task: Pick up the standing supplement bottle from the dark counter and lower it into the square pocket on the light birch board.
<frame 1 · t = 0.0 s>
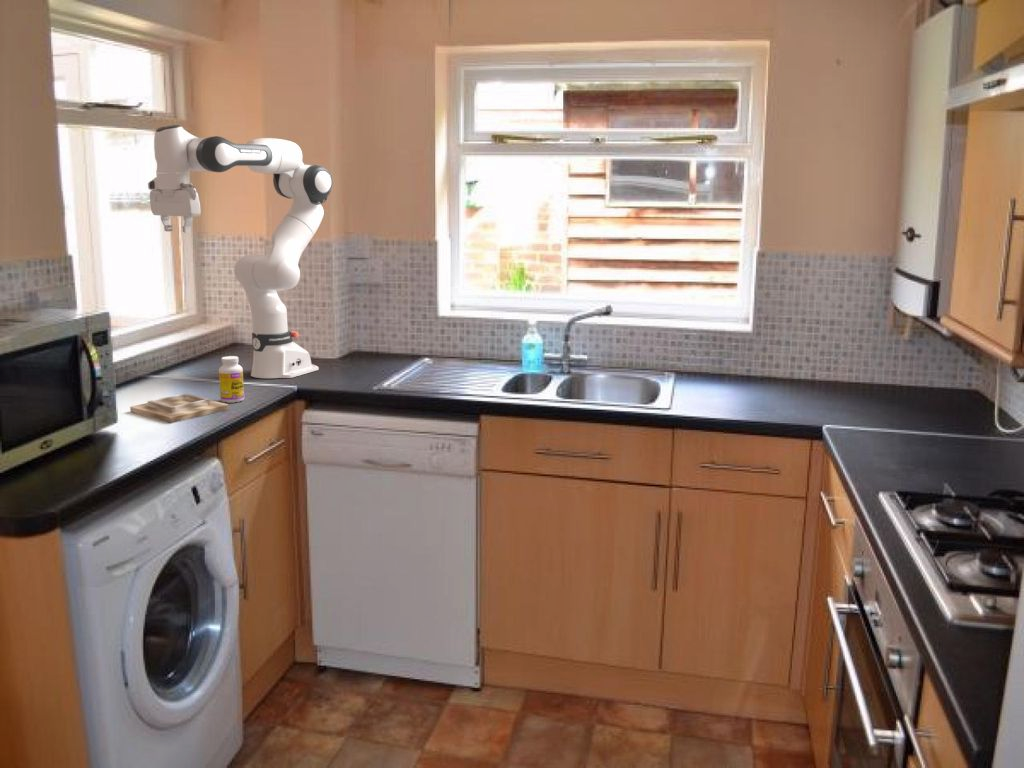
hand: (177, 231, 270), 48 cm above the worktop, tool pointing down, fingers open, 8 cm apart
pocket board: (180, 410, 258), on the worktop
supplement bottle: (232, 401, 269), on the worktop
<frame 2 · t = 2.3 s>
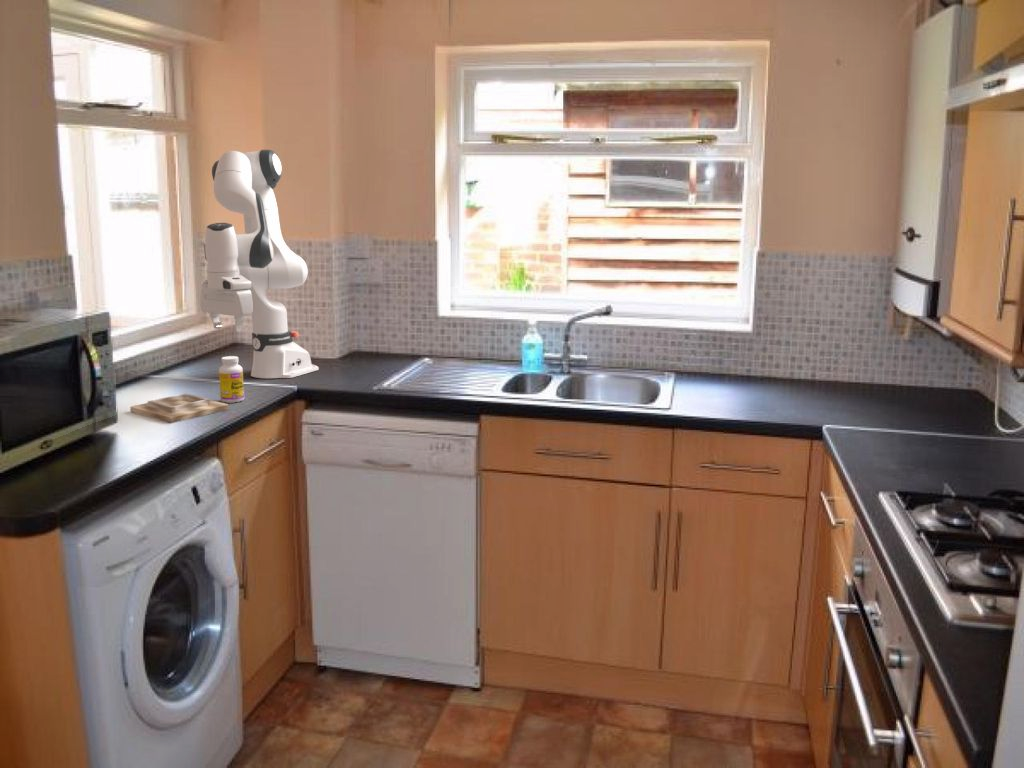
hand: (227, 329, 264), 21 cm above the worktop, tool pointing down, fingers open, 8 cm apart
nothing on the worktop moved.
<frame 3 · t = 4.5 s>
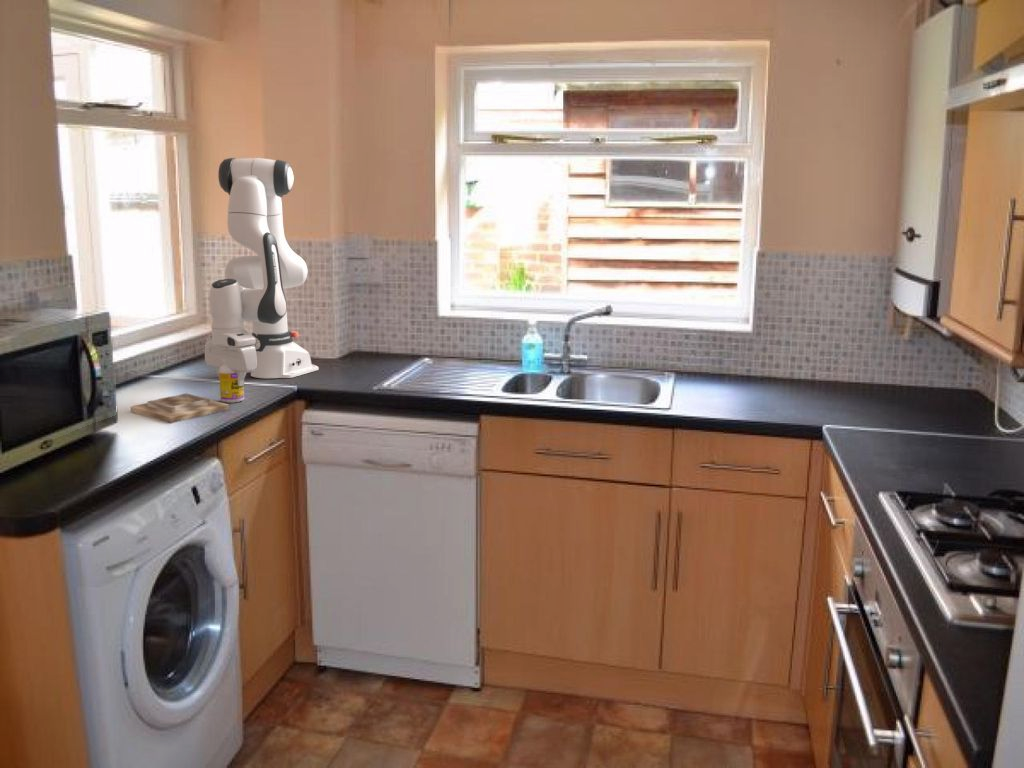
hand: (231, 383, 268), 5 cm above the worktop, tool pointing down, fingers closed on supplement bottle, 7 cm apart
supplement bottle: (233, 401, 269), on the worktop, touching gripper
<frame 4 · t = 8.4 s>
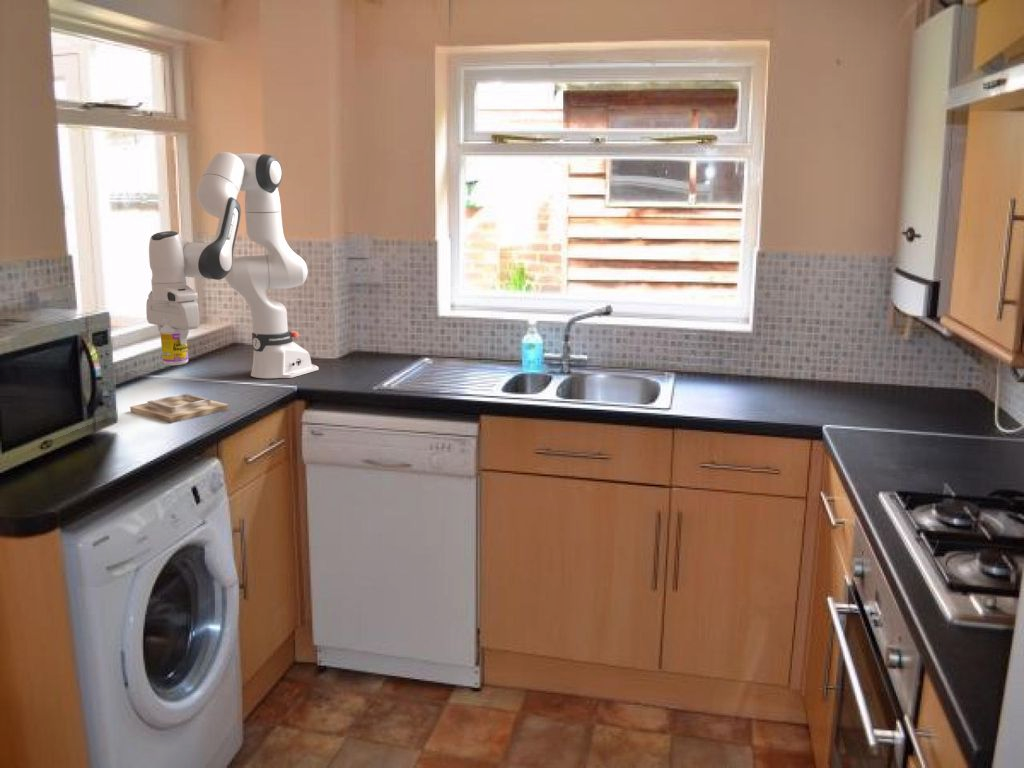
hand: (174, 342, 254), 19 cm above the worktop, tool pointing down, fingers closed on supplement bottle, 7 cm apart
supplement bottle: (176, 363, 255), point 13 cm above the worktop, touching gripper
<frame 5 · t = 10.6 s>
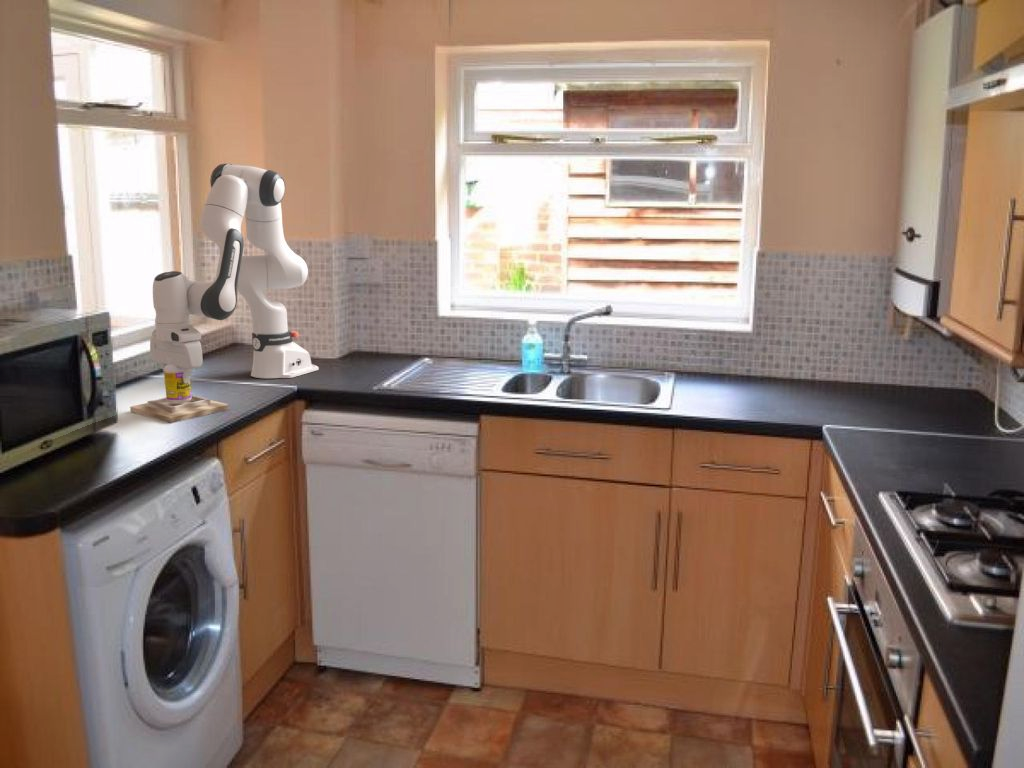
hand: (177, 380, 256), 9 cm above the worktop, tool pointing down, fingers closed on supplement bottle, 7 cm apart
supplement bottle: (179, 401, 258), point 3 cm above the worktop, touching gripper
when the fingers open (9 cm above the worktop, at t = 11.1 s): supplement bottle drops 1 cm, resting on pocket board.
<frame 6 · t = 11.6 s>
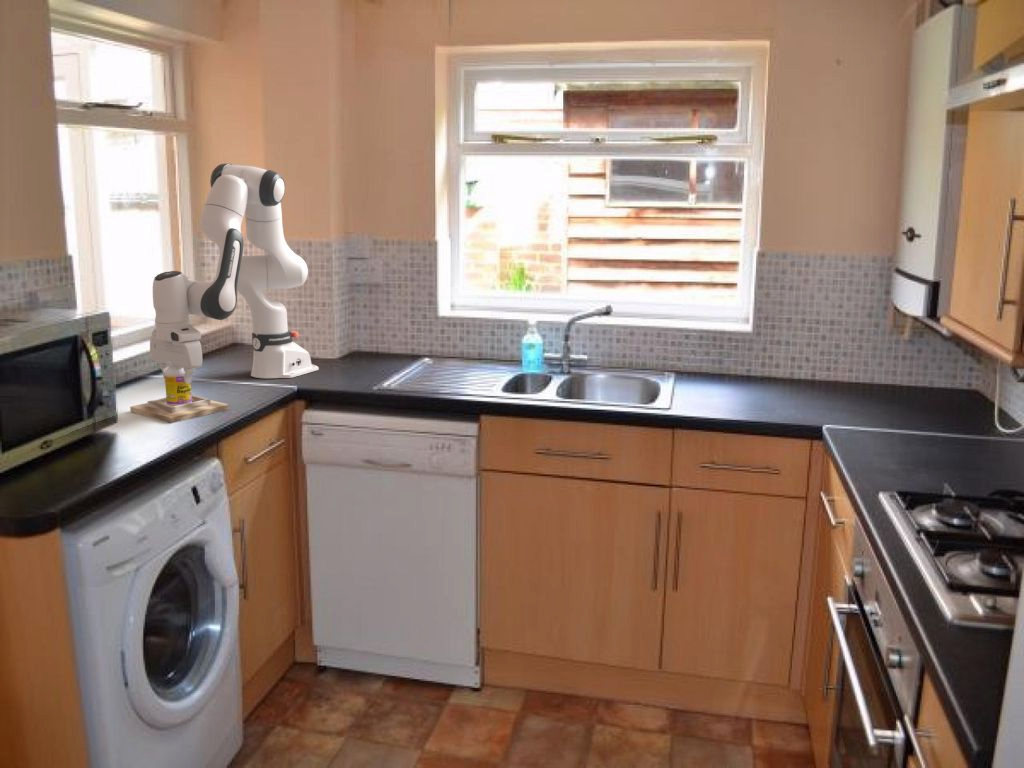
hand: (177, 380, 256), 9 cm above the worktop, tool pointing down, fingers open, 8 cm apart
supplement bottle: (179, 405, 258), point 1 cm above the worktop, touching pocket board
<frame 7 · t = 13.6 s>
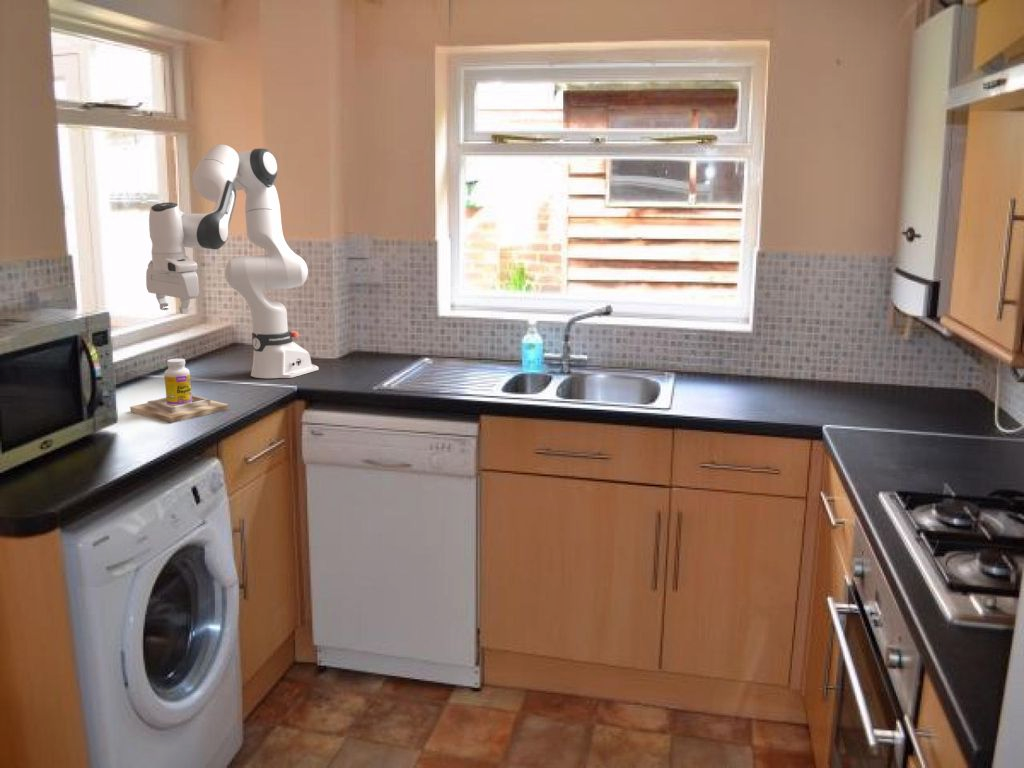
hand: (174, 311, 260), 27 cm above the worktop, tool pointing down, fingers open, 8 cm apart
nothing on the worktop moved.
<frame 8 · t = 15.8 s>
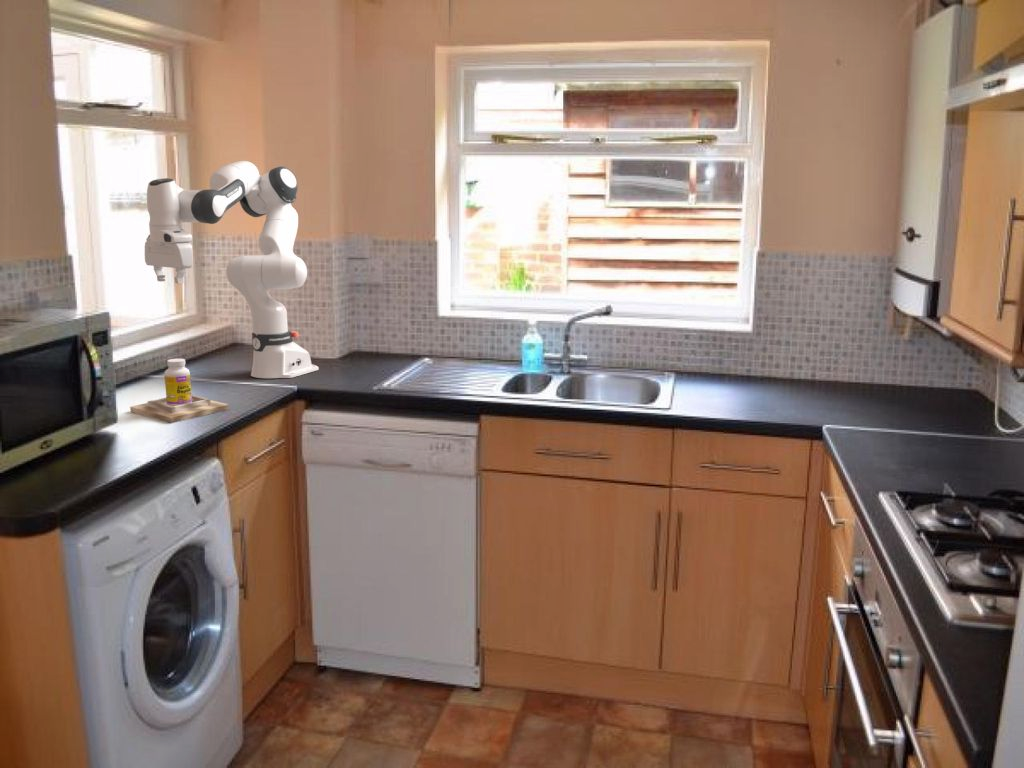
hand: (170, 282, 274), 33 cm above the worktop, tool pointing down, fingers open, 8 cm apart
nothing on the worktop moved.
at the end: supplement bottle 0.3 cm off-centre on the pocket board, point 1.3 cm above the pocket board's base; supplement bottle tilted 0°; the gripper is holding nothing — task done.
